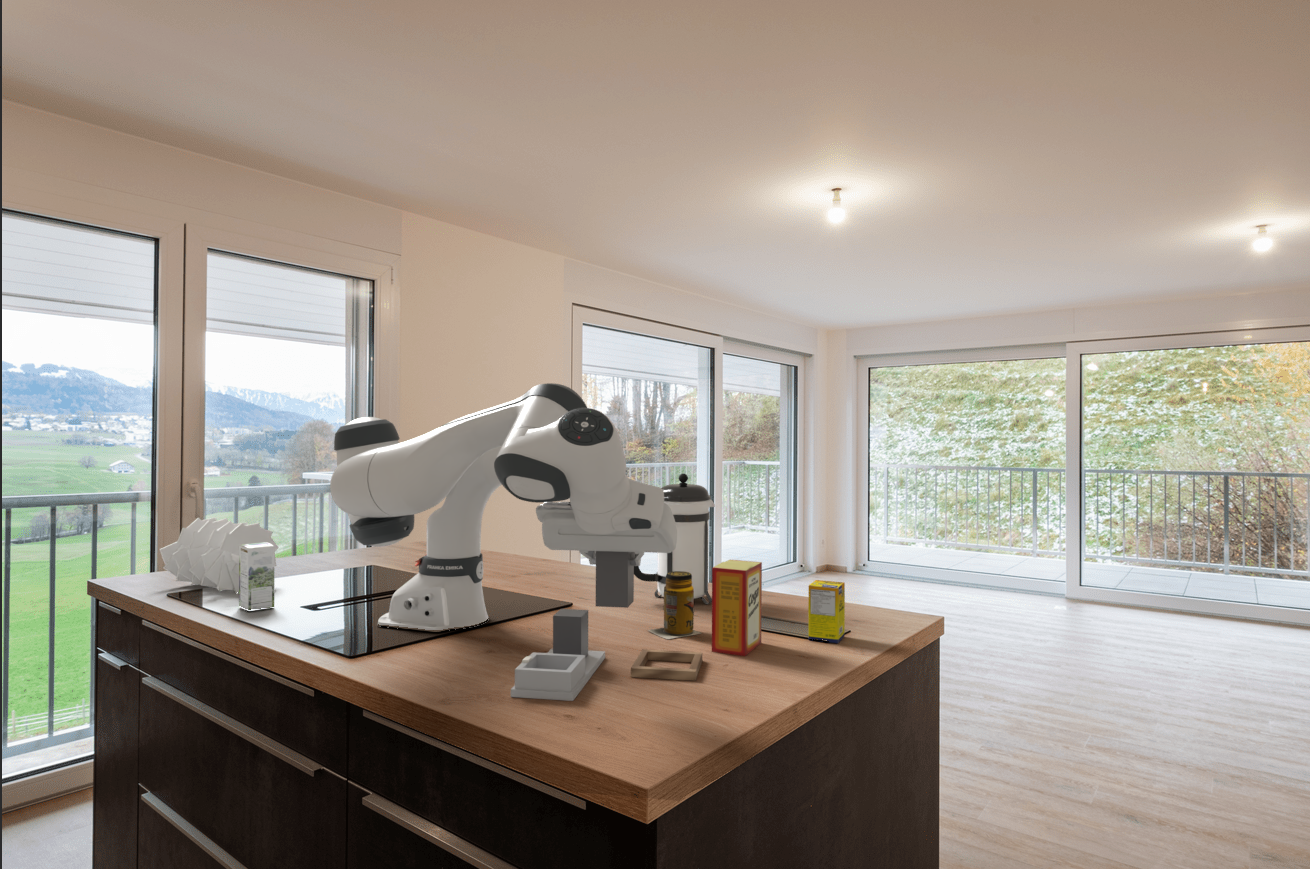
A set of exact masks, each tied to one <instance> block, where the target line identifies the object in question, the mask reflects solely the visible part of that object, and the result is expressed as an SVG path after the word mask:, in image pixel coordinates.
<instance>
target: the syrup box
mask: <svg viewBox="0 0 1310 869" xmlns="http://www.w3.org/2000/svg"><path fill="white" fill-rule="evenodd" d="M275 559H276V551H275V547H274V545H272V544H270V543H267V542H263V543H254V544H245V545H239V593H238V607H239V606H241V607H243V608H245V609H248V610H251V609H261V608H270V607H274V608H275V567H274V562H275Z"/></svg>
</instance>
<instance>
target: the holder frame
mask: <svg viewBox="0 0 1310 869" xmlns="http://www.w3.org/2000/svg"><path fill="white" fill-rule="evenodd" d="M648 661H662V662H664V661H665V662H679V663H680V662H682V663H691V664H690V666H689V668H679V667H677V668H676V667H661V666H660V667H659V666H658V667H657V666H645V665H646V663H647V662H648ZM702 663H703V652H701V651H684V650H682V651H680V650H664V649H663V650H662V649H647V648H646V649H645V648H643V649H642V650H641V651H640V652H639V654H638V655H637V657H636V658H635V661H634V662H633V664H632V665H631V667H630V678H640V679H641V678H643V679H644V678H645V679H659V680H660V679H661V680H663V679H664V680H678V681H696V680H697V678H698V674H699V671H700V669H701V666H702ZM696 682H697V681H696Z"/></svg>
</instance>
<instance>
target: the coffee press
mask: <svg viewBox="0 0 1310 869" xmlns="http://www.w3.org/2000/svg"><path fill="white" fill-rule="evenodd" d="M688 480H689V477H688V475H687V474H686V473H681V474H679V476H678V481H679V482H680V483H671V484H666V485H663V486H662V487H661V488H662V489H663V491H664V503H666V504H667V505H668V506H669V507H670V509H671V511H672V513H673V516H674V519H675V523H676V527H677V543H676V548H675V549H674V550H673V551H672V552H671V553H657V565H656V566H657V569H656V570H657V571H656V573H644V572H643V571H641V569H640V566H634V577H636V578H637V579H638V580H639V581H644V582H650V583H651V582H656V583H657V588H656V590H655V592H654V597H655V598H661V597H664V587H665V586H666V575H667V573H668V572H674V571H684V572H689V573H691V574H692V586H693V588H694V600H695V599H700V600H701V601H702V602H703V603H704V605H710V604H712V596H711V595H710V592H709V552H710V551H709V549H710V548H709V544H710V543H709V541H710V540H709V536H710V535H709V534H710V533H709V532H710V531H709V526H710V524H709V522H710V520H711V519H710V516H711V514H710V510H709V509H710V508H715V507H716V505H715V503H714V501H713V500H712V499H711V495H710V494H709V492H708V489H707V488H705V487H704V486H703V485H699V484H694V483H693V484H692V483H687V482H688ZM704 596H705V597H706V598H707V599H706V598H705V597H704ZM707 600H708V601H707Z"/></svg>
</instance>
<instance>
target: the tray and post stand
mask: <svg viewBox="0 0 1310 869" xmlns="http://www.w3.org/2000/svg"><path fill="white" fill-rule="evenodd" d="M605 659H606V651H605V650H590V649H589V610H588V609H574V608H560V609H559V610H558V611H557V612H556V613H555V614H553V615H552V648H550V649H549V650H548V651H547V652H534V651H533V652H531V653H530V654H529V655H528V656H527V655H526V656H525V657H524V658H523V659H522V660H521V663H520V664H519V665H518V666H517V667H516V668H515V669H514V685H513V686H512V687H511V688H510V697H511V698H522V699H539V700H550V701H551V700H553V701H554V700H557V701H569V702H573V701H574V700H575V699H576V697H578V695H579V693H580V692H581V691H582V690H583V689H584V687H585V686H586V685H587V683H588V682H589V680H590V679H591V678H592V676H593V675H594V674H595V673H596V671H597V669H598V668H599V667H600V666H601V664H602V663H603V662H604V660H605Z"/></svg>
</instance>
